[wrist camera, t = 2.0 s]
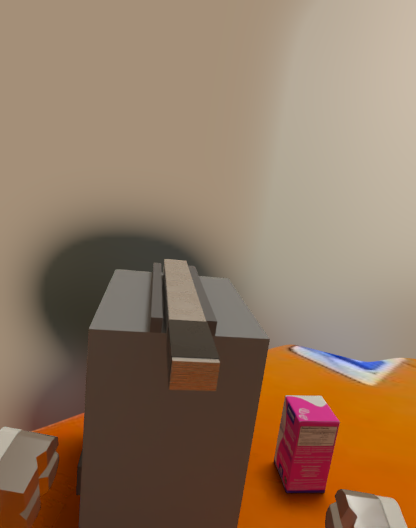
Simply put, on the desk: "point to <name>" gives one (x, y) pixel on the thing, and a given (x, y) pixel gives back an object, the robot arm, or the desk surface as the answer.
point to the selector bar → (187, 333)
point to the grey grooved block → (166, 411)
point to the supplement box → (305, 444)
